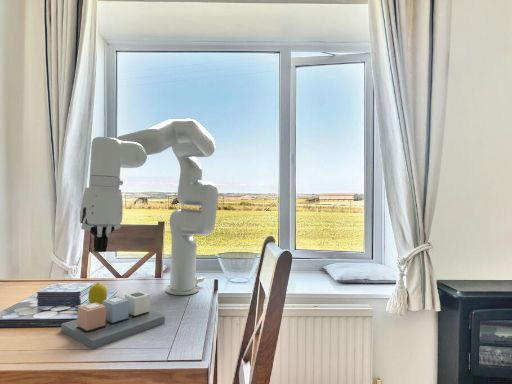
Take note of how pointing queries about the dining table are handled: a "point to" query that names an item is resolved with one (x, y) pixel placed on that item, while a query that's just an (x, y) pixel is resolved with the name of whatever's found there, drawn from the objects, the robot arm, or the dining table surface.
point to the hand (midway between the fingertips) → (100, 251)
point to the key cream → (138, 303)
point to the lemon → (97, 293)
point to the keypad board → (112, 329)
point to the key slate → (116, 309)
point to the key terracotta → (91, 316)
